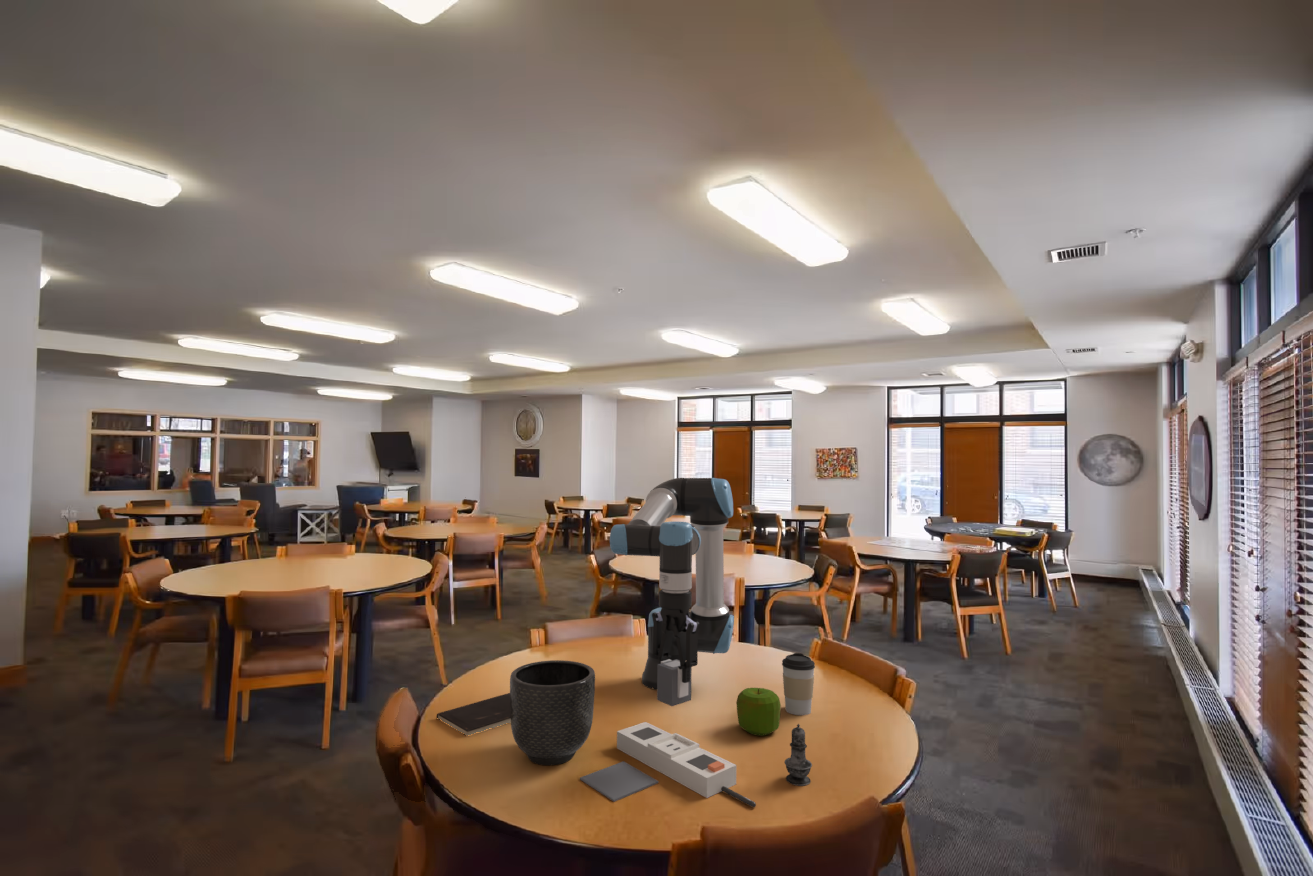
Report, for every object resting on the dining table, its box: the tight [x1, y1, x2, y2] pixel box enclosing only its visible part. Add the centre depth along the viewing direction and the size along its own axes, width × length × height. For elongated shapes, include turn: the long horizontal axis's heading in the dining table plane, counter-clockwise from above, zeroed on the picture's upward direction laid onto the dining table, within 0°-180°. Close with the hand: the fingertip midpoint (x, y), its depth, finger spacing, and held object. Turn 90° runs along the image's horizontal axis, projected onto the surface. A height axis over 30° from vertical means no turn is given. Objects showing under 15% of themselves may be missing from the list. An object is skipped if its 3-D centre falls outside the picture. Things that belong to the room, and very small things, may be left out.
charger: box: [656, 659, 693, 707], centre depth 146 cm, size 5×6×8 cm
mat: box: [579, 761, 659, 803], centre depth 137 cm, size 12×12×1 cm
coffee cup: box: [781, 652, 816, 716], centre depth 179 cm, size 9×9×15 cm
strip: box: [616, 721, 757, 808], centre depth 142 cm, size 39×9×5 cm, turn 41°
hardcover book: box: [436, 692, 511, 737], centre depth 172 cm, size 16×23×2 cm
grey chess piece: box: [784, 723, 813, 787], centre depth 139 cm, size 6×6×12 cm
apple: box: [735, 687, 782, 736], centre depth 165 cm, size 11×11×11 cm
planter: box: [509, 659, 596, 766], centre depth 149 cm, size 20×20×19 cm
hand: (674, 692), depth 146 cm, fingers closed on charger, 5 cm apart
